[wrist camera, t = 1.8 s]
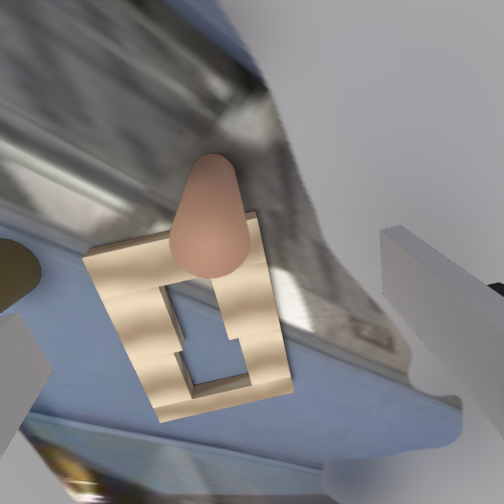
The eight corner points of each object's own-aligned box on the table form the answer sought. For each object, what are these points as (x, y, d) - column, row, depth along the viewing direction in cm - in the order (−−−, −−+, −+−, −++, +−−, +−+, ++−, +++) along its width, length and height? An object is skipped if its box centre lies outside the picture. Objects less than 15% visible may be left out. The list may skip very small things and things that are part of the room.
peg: (184, 159, 30) (157, 214, 16) (229, 148, 30) (240, 195, 16) (197, 202, 31) (182, 286, 18) (239, 193, 31) (257, 268, 18)
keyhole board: (89, 248, 32) (81, 258, 30) (254, 211, 32) (257, 218, 30) (162, 408, 42) (160, 422, 40) (290, 379, 42) (294, 392, 40)
